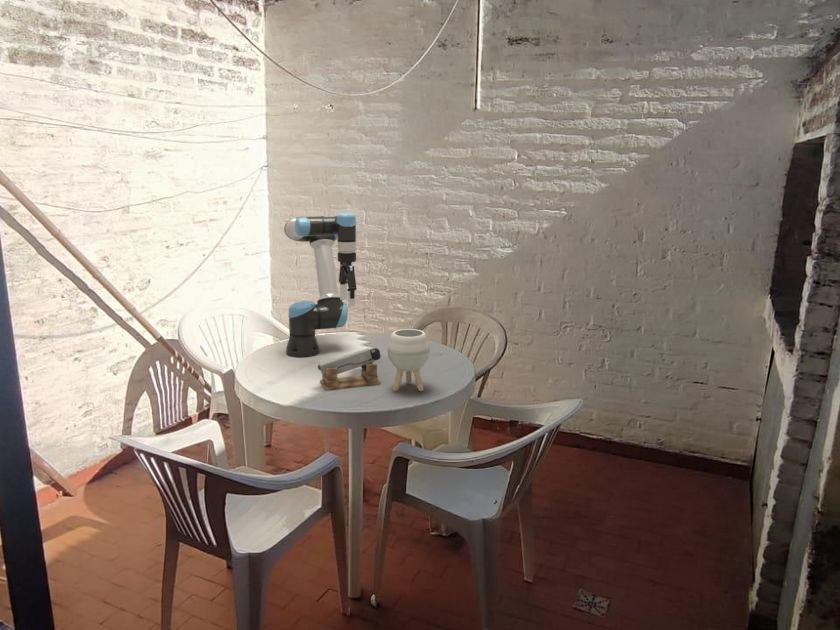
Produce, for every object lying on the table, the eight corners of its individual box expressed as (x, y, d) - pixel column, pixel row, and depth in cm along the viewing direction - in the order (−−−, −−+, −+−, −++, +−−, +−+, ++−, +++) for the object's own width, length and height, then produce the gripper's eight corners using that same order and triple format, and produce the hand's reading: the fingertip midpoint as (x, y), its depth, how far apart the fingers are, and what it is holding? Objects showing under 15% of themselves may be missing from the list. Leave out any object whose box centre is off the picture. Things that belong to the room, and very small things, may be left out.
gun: (384, 369, 256) (379, 346, 253) (324, 389, 248) (318, 366, 245) (382, 367, 258) (377, 344, 255) (323, 387, 251) (317, 364, 248)
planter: (434, 393, 243) (435, 336, 238) (393, 397, 238) (393, 339, 233) (422, 380, 258) (422, 326, 253) (383, 383, 253) (383, 329, 248)
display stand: (325, 390, 245) (324, 370, 243) (320, 382, 254) (319, 363, 252) (380, 384, 252) (380, 365, 250) (373, 376, 261) (373, 357, 259)
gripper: (331, 248, 269) (332, 297, 274) (345, 256, 247) (346, 309, 251) (348, 247, 272) (349, 296, 277) (363, 255, 249) (364, 308, 254)
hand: (347, 302), depth 264 cm, fingers open, 13 cm apart
